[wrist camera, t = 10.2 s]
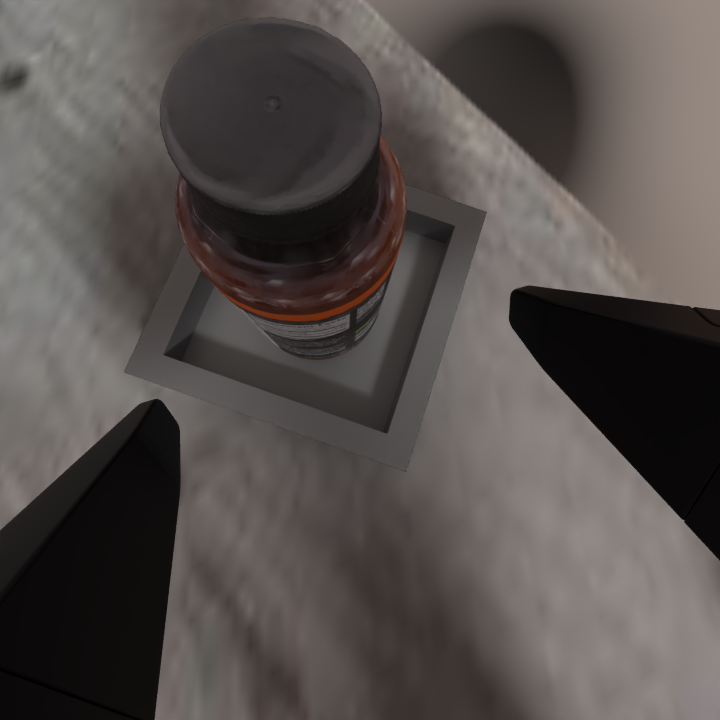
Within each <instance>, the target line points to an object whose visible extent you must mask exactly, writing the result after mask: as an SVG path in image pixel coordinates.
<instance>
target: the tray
mask: <svg viewBox="0 0 720 720" xmlns="http://www.w3.org/2000/svg"><path fill="white" fill-rule="evenodd" d="M405 188H406V195H407V213H406V224H405V232H404V236H403V240H402V243H401V247H400V250H399V253H398V256H397V260H396V263H395V265H394V269H393V271H392V274H391V278H390V281H389V284H388V287H387V290H386V293H385V296H384V299H383V302H382V304H381V308H380V310H379V314H378V317H377V319H376V321H375V323H374V325H373V327H372V328H371V330H370V331H369V333H368V335H367V336H366V337H365V338H364V339H363V340H362V341H361V342H360V343H359V344H358V345H357V346H356V347H355V348H353V349H351V350H350V351H348V352H347V353H345V354H343V355H340V356H337V357H334V358H330V359H324V360H308V359H303V358H299V357H296V356H293V355H290V354H288V353H287V352H284V351H283V350H282V349H280V348H279V347H277V346H276V345H275V344H273V343H272V342H271V341H270V340H269V339H268V338H267V337H266V336H265V335H264V334H263V333H261V331H260V330H259V329H257V328H256V326H254V325H253V324H252V322H251V321H249V320H248V319H247V318H246V317H245V316H244V315H243V314H242V313H241V312H240V311H239V310H238V309H237V308H236V307H235V306H234V305H233V304H232V303H231V302H230V301H229V300H228V299H227V298H226V297H225V296H224V295H223V294H222V293H221V292H220V291H219V290H218V289H217V288H216V287H215V286H214V285H213V284H212V283H211V281H210V280H209V279H208V278H207V277H206V276H205V275H204V273H203V272H202V271H201V270H200V268H199V267H198V266H197V264H196V263H195V261H194V259H193V258H192V257H191V255H190V252H189V250H188V249H187V247H186V245H185V243H184V244H183V247H182V249H181V251H180V253H179V255H178V257H177V259H176V262H175V264H174V266H173V268H172V270H171V272H170V274H169V276H168V279H167V281H166V283H165V285H164V287H163V289H162V291H161V294H160V296H159V298H158V300H157V302H156V304H155V306H154V309H153V311H152V313H151V315H150V317H149V319H148V321H147V324H146V326H145V328H144V330H143V332H142V334H141V336H140V338H139V341H138V343H137V345H136V347H135V349H134V351H133V353H132V356H131V358H130V360H129V362H128V364H127V366H126V368H125V371H124V372H125V373H127V374H130V375H133V376H136V377H139V378H142V379H144V380H147V381H150V382H153V383H156V384H159V385H161V386H164V387H167V388H170V389H173V390H176V391H178V392H181V393H184V394H187V395H190V396H193V397H195V398H198V399H201V400H204V401H207V402H210V403H212V404H215V405H218V406H221V407H224V408H227V409H229V410H232V411H235V412H238V413H241V414H244V415H246V416H249V417H252V418H255V419H258V420H261V421H263V422H266V423H269V424H272V425H275V426H278V427H280V428H283V429H286V430H289V431H292V432H294V433H297V434H300V435H303V436H306V437H309V438H311V439H314V440H317V441H320V442H323V443H326V444H328V445H331V446H334V447H337V448H340V449H343V450H345V451H348V452H351V453H354V454H357V455H360V456H362V457H365V458H368V459H371V460H374V461H377V462H379V463H382V464H385V465H388V466H391V467H394V468H396V469H399V470H402V471H405V472H406V470H407V467H408V464H409V460H410V457H411V454H412V451H413V448H414V444H415V441H416V438H417V435H418V431H419V428H420V425H421V422H422V419H423V415H424V412H425V409H426V406H427V403H428V399H429V396H430V393H431V390H432V386H433V383H434V380H435V377H436V374H437V370H438V367H439V364H440V361H441V358H442V354H443V351H444V348H445V345H446V342H447V338H448V335H449V332H450V329H451V325H452V322H453V319H454V316H455V313H456V309H457V306H458V303H459V300H460V297H461V293H462V290H463V287H464V284H465V280H466V277H467V274H468V271H469V268H470V264H471V261H472V258H473V255H474V252H475V248H476V245H477V242H478V239H479V236H480V232H481V229H482V226H483V223H484V219H485V216H486V213H487V212H485V211H482V210H480V209H477V208H474V207H471V206H468V205H465V204H462V203H459V202H456V201H453V200H450V199H447V198H444V197H441V196H439V195H436V194H433V193H430V192H427V191H424V190H421V189H418V188H415V187H412V186H409V185H406V184H405Z"/></svg>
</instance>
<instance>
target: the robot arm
mask: <svg viewBox="0 0 720 720" xmlns="http://www.w3.org/2000/svg"><path fill="white" fill-rule="evenodd" d="M509 321H510V325H511V327H512V328H513V330H514V331H515V332H516V334H517V335H518V336H519V338H520V339H521V340H522V342H523V343H524V345H525V346H526V347H527V349H528V350H529V351H530V353H531V354H532V355H533V357H534V358H535V360H536V361H537V362H538V363H539V365H540V366H541V367H542V369H543V370H544V371H545V372H546V373H547V374H548V375H549V376H550V378H551V379H552V380H553V381H554V382H555V383H556V384H557V385H558V386H559V387H560V388H561V389H562V390H563V392H564V393H565V394H566V395H567V396H568V397H569V398H570V399H571V400H572V401H573V402H574V403H575V405H576V406H577V407H578V408H579V409H580V410H581V411H582V412H583V413H584V414H585V415H586V416H587V417H588V419H589V420H590V421H591V422H592V423H593V424H594V425H595V426H596V427H597V428H598V429H599V430H600V431H601V433H602V434H603V435H604V436H605V437H606V438H607V439H608V440H609V441H610V442H611V443H612V444H613V446H614V447H615V448H616V449H617V450H618V451H619V452H620V453H621V454H622V455H623V456H624V457H625V458H626V460H627V461H628V462H629V463H630V464H631V465H632V466H633V467H634V468H635V469H636V470H637V471H638V472H639V474H640V475H641V476H642V477H643V478H644V479H645V480H646V481H647V482H648V483H649V484H650V485H651V487H652V488H653V489H654V490H655V491H656V492H657V493H658V494H659V495H660V496H661V497H662V498H663V499H664V501H665V502H666V503H667V504H668V505H669V506H670V507H671V508H672V509H673V510H674V511H675V512H676V513H677V515H678V516H679V517H680V518H681V519H682V520H684V522H685V524H686V525H687V526H688V527H689V528H690V529H691V530H692V531H693V532H694V533H695V534H696V535H697V536H698V538H699V539H700V540H701V541H702V542H703V543H704V544H705V545H706V546H707V547H708V548H709V549H710V550H711V552H712V553H713V554H714V555H715V556H716V557H717V558H718V559H719V560H720V310H714V309H706V308H698V307H694V308H691V307H689V306H682V305H675V304H667V303H659V302H652V301H644V300H636V299H629V298H621V297H613V296H606V295H598V294H590V293H583V292H575V291H567V290H560V289H552V288H544V287H537V286H524V287H521V288H517V289H515V290H513V291H512V293H511V296H510V310H509ZM180 483H181V470H180V429H179V425H178V423H177V421H176V420H175V419H174V417H173V416H172V414H171V413H170V412H169V410H168V409H167V407H166V406H165V404H164V403H163V402H162V401H161V400H159V399H153V400H150V401H147V402H144V403H141V404H139V405H138V406H137V407H135V408H134V409H133V410H132V411H131V412H130V413H129V414H128V415H127V416H126V417H124V418H123V419H122V420H121V421H120V422H119V423H118V424H117V425H116V426H115V427H113V428H112V429H111V430H110V431H109V432H108V433H107V434H106V435H105V436H104V437H102V438H101V439H100V440H99V441H98V442H97V443H96V444H95V445H94V446H93V447H91V448H90V449H89V450H88V451H87V452H86V453H85V454H84V455H83V456H82V457H80V458H79V459H78V460H77V461H76V462H75V463H74V464H73V465H72V466H71V467H69V468H68V469H67V470H66V471H65V472H64V473H63V474H62V475H61V476H60V477H58V478H57V479H56V480H55V481H54V482H53V483H52V484H51V485H50V486H49V487H47V488H46V489H45V490H44V491H43V492H42V493H41V494H40V495H39V496H38V497H36V498H35V499H34V500H33V501H32V502H31V503H30V504H29V505H28V506H27V507H25V508H24V509H23V510H22V511H21V512H20V513H19V514H18V515H17V516H16V517H14V518H13V519H12V520H11V521H10V522H9V523H8V524H7V525H6V526H5V527H3V528H2V529H1V530H0V720H154V719H155V710H156V702H157V693H158V684H159V675H160V666H161V657H162V648H163V640H164V631H165V622H166V613H167V604H168V595H169V586H170V577H171V569H172V560H173V551H174V542H175V533H176V524H177V515H178V507H179V498H180Z"/></svg>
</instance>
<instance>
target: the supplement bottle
mask: <svg viewBox="0 0 720 720" xmlns="http://www.w3.org/2000/svg"><path fill="white" fill-rule="evenodd" d="M381 117H382V113H381V105H380V98H379V94H378V92H377V89H376V86H375V83H374V81H373V79H372V77H371V75H370V73H369V71H368V69H367V68H366V66H365V65H364V64H363V62H362V61H361V60H360V58H359V57H358V56H357V55H356V54H355V53H354V52H353V51H352V50H351V49H350V48H349V47H348V46H347V45H346V44H344V43H343V42H342V41H341V40H340V39H338V38H336V37H334V36H332V35H331V34H329V33H327V32H326V31H324V30H323V29H321V28H319V27H316V26H312V25H308V24H305V23H302V22H298V21H293V20H288V19H278V18H274V17H270V18H258V19H247V20H243V21H236V22H233V23H229V24H226V25H224V26H222V27H220V28H218V29H216V30H214V31H212V32H210V33H208V34H207V35H205V36H204V37H202V38H200V39H199V40H198V41H197V42H196V43H195V44H194V45H193V46H191V47H190V48H189V49H188V50H187V51H186V52H185V53H184V54H183V55H182V56H181V57H180V59H179V60H178V62H177V63H176V64H175V66H174V67H173V68H172V70H171V72H170V75H169V77H168V79H167V81H166V84H165V87H164V90H163V96H162V99H161V105H160V126H161V130H162V134H163V138H164V141H165V144H166V147H167V150H168V154H169V155H170V157H171V159H172V161H173V162H174V164H175V165H176V167H177V169H178V170H179V172H180V174H179V178H178V180H177V187H176V192H175V210H176V217H177V221H178V227H179V229H180V233H181V235H182V239H183V241H184V243H185V245H186V247H187V249H188V250H189V252H190V255H191V257H192V258H193V259H194V261H195V263H196V264H197V266H198V267H199V268H200V270H201V271H202V272H203V273H204V275H205V276H206V277H207V278H208V279H209V280H210V281H211V283H212V284H213V285H214V286H215V287H216V288H217V289H218V290H219V291H220V292H221V293H222V294H223V295H224V296H225V297H226V298H227V299H228V300H229V301H230V302H231V303H232V304H233V305H234V306H235V307H236V308H237V309H238V310H239V311H240V312H241V313H242V314H243V315H244V316H245V317H246V318H247V319H248V320H249V321H251V322H252V324H253V325H254V326H256V328H257V329H259V330H260V331H261V333H263V334H264V335H265V336H266V337H267V338H268V339H269V340H270V341H271V342H272V343H273V344H275V345H276V346H277V347H279V348H280V349H282V350H283V351H284V352H287V353H288V354H290V355H293V356H296V357H299V358H303V359H308V360H324V359H330V358H334V357H337V356H340V355H343V354H345V353H347V352H348V351H350V350H351V349H353V348H355V347H356V346H357V345H358V344H359V343H360V342H361V341H362V340H363V339H364V338H365V337H366V336H367V335H368V333H369V331H370V330H371V328H372V327H373V325H374V323H375V321H376V319H377V317H378V314H379V310H380V308H381V304H382V302H383V299H384V296H385V293H386V290H387V287H388V284H389V281H390V278H391V274H392V271H393V269H394V265H395V263H396V260H397V256H398V253H399V250H400V247H401V243H402V240H403V236H404V232H405V224H406V213H407V195H406V188H405V183H404V179H403V176H402V172H401V169H400V166H399V164H398V161H397V158H396V157H395V155H394V153H393V151H392V149H391V148H390V147H389V145H388V143H387V142H386V141H385V140H384V138H383V137H382V135H381V134H380V133H381V126H382V122H381Z"/></svg>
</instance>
